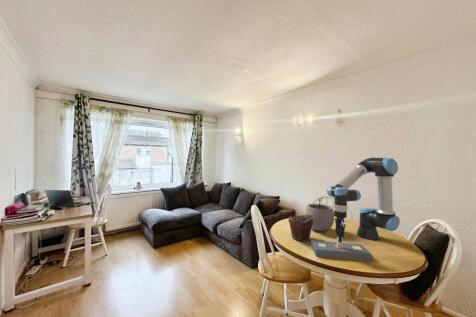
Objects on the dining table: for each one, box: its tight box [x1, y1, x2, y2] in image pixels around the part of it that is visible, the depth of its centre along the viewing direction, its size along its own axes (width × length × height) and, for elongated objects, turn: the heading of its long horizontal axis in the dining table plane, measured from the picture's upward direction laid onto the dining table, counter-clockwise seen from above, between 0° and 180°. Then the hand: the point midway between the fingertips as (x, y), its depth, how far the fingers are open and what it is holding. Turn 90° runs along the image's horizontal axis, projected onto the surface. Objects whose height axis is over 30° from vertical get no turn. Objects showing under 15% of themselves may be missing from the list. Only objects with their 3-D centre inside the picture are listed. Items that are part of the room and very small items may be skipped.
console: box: [310, 240, 373, 262], centre depth 134 cm, size 33×14×4 cm, turn 82°
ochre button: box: [352, 246, 362, 250], centre depth 133 cm, size 5×5×4 cm
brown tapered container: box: [287, 214, 313, 242], centre depth 158 cm, size 18×20×18 cm
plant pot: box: [304, 196, 335, 232], centre depth 178 cm, size 24×24×30 cm
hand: (339, 246), depth 134 cm, fingers closed
